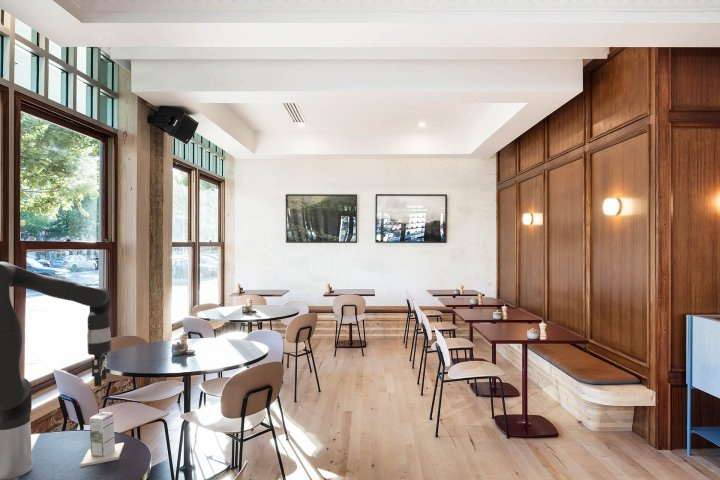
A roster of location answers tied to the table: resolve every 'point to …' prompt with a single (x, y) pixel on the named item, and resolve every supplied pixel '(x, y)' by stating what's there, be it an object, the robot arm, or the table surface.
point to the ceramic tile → (97, 459)
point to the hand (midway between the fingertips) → (100, 382)
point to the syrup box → (102, 434)
